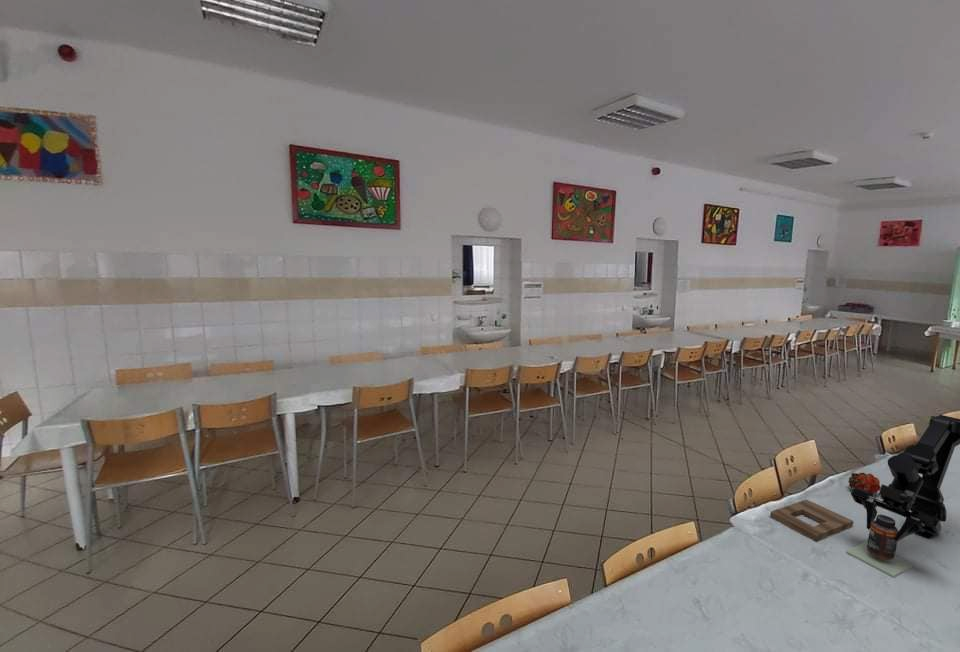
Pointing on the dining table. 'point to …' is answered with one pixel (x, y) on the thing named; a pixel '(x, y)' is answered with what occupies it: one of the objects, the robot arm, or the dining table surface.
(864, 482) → the dragon fruit
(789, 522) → the socket board
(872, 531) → the supplement bottle
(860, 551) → the sage pad
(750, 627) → the dining table surface
